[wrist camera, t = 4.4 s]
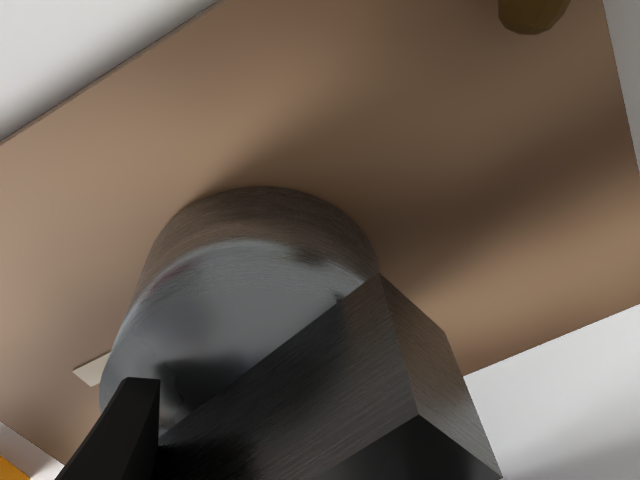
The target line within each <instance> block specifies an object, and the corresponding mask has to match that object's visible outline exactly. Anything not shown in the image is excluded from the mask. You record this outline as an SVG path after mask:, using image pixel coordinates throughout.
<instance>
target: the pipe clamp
mask: <svg viewBox="0 0 640 480" xmlns="http://www.w3.org/2000/svg"><path fill="white" fill-rule="evenodd" d="M0 480H30V477H28V476H27V475H26V474H24V473H23V472H22V471H20V470H19V469H18V468H16V467H15V466H14V465H12V464H11V463H10V462H8V461H7V460H6V459H4V458H3V457H2V456H0Z"/></svg>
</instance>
